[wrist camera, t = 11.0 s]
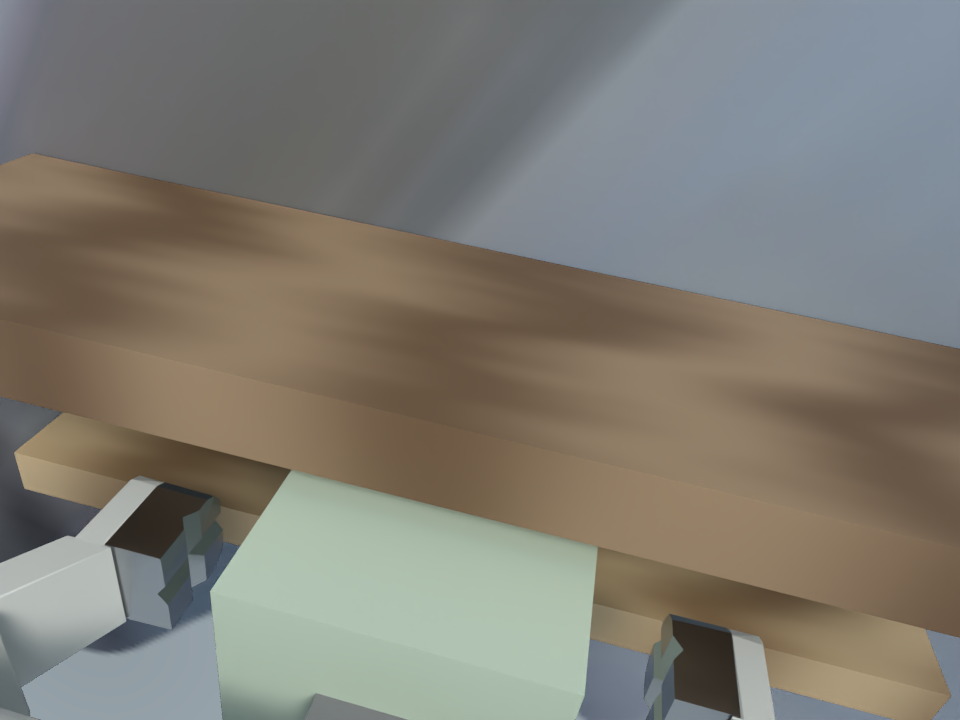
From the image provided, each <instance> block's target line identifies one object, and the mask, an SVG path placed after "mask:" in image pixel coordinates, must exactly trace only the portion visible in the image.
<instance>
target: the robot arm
mask: <svg viewBox="0 0 960 720" xmlns="http://www.w3.org/2000/svg"><path fill="white" fill-rule="evenodd" d="M220 513H221V507H220V500H219V498H217V497H214V496H211V495H208V494H204V493H201V492H197V491H194V490H190V489H187V488H184V487H180V486H177V485H173V484H170V483H166V482H162V481H158V480H155V479H151V478H147V477H144V476H138V477H135V478H133V479H131V480H130V481H129V482H128V483H127V484H126V485H125V486H124V487H123V488H122V489H121V490H120V491H119V492H118V493H117V494H116V495H115V496H114V497H113V498H112V499H111V501H110V502H109V503H108V504H107V505H106V506H105V507H104V508H103V509H102V510H101V511H100V512H99V513H98V514H97V515H96V516H95V517H94V518H93V519H92V520H91V521H90V522H89V523H88V524H87V525H86V526H85V527H84V528H83V530H82V531H81V532H80V533H79V534H78V535H77V536H76V537H71V536H65V537H63V538H60V539H58V540H55V541H53V542H50V543H48V544H46V545H43V546H41V547H38V548H36V549H33V550H31V551H29V552H26V553H24V554H21V555H19V556H16V557H14V558H12V559H9V560H7V561H4V562H2V563H0V720H39V719H36V718H33V717H30V710H29V707H28V705H27V702H26V699H25V697H24V694H23V691H22V689H21V687H22V686H24V685H25V684H27V683H29V682H30V681H32V680H33V679H35V678H37V677H38V676H40V675H42V674H43V673H44V672H46V671H48V670H50V669H51V668H53V667H54V666H56V665H58V664H59V663H61V662H62V661H64V660H65V659H67V658H69V657H70V656H72V655H73V654H75V653H77V652H78V651H80V650H81V649H83V648H85V647H86V646H88V645H89V644H91V643H93V642H94V641H96V640H97V639H99V638H101V637H102V636H104V635H105V634H107V633H109V632H110V631H112V630H113V629H115V628H117V627H118V626H120V625H121V624H123V623H125V622H126V619H130V620H134V621H138V622H142V623H146V624H150V625H154V626H158V627H162V628H166V629H170V630H172V629H173V628H174V626H175V625H176V623H177V622H178V620H179V619H180V618H181V616H182V615H183V613H184V612H185V610H186V609H187V608H188V606H189V605H190V603H191V602H192V600H193V595H192V587H194V586H196V585H198V584H200V583H202V582H204V581H205V580H207V579H208V577H209V576H210V574H211V573H212V571H213V570H214V568H215V566H216V564H217V561H218V559H219V556H220V554H221V551H222V545H223V529H222V528H221V527H220V525H219V524H218V523H217V522H216V518H217V517H218V515H219V514H220ZM644 700H645V702H646V704H647V705H648V707H649V709H650V711H649V714H648V716H647V718H646V720H775V715H774V709H773V702H772V696H771V690H770V684H769V678H768V672H767V665H766V659H765V653H764V647H763V642H762V641H761V639H760V637H759V636H755V635H751V634H747V633H743V632H739V631H735V630H732V629H727V628H725V627H721V626H717V625H713V624H709V623H705V622H701V621H697V620H693V619H689V618H685V617H681V616H677V615H673V614H668V615H667V616H666V617H665V620H664V622H663V624H662V626H661V641H659V642H656V643H654V645H653V647H652V650H651V653H650V655H649V659H648V663H647V668H646V672H645V683H644Z"/></svg>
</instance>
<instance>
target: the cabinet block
mask: <svg viewBox="0 0 960 720" xmlns="http://www.w3.org/2000/svg"><path fill="white" fill-rule="evenodd" d="M597 549H598V547H597V546H593V545H590V544H586V543H582V542H578V541H574V540H570V539H566V538H562V537H558V536H554V535H550V534H546V533H542V532H538V531H534V530H530V529H526V528H522V527H518V526H514V525H510V524H506V523H502V522H498V521H494V520H490V519H486V518H482V517H478V516H474V515H470V514H466V513H462V512H458V511H454V510H450V509H446V508H442V507H438V506H434V505H430V504H426V503H422V502H418V501H415V500H411V499H407V498H403V497H399V496H395V495H391V494H387V493H383V492H379V491H375V490H371V489H367V488H363V487H359V486H355V485H351V484H347V483H343V482H339V481H335V480H331V479H327V478H323V477H319V476H315V475H311V474H307V473H303V472H299V471H295V470H291V472H290V473H289V474H288V476H287V477H286V479H285V480H284V482H283V483H282V485H281V486H280V488H279V489H278V491H277V492H276V494H275V495H274V497H273V498H272V500H271V501H270V503H269V504H268V506H267V507H266V509H265V510H264V512H263V513H262V515H261V516H260V518H259V519H258V521H257V522H256V524H255V525H254V527H253V528H252V530H251V531H250V533H249V534H248V536H247V537H246V539H245V540H244V542H243V543H242V545H241V546H240V547H239V549H238V550H237V552H236V553H235V555H234V556H233V558H232V559H231V561H230V562H229V564H228V565H227V567H226V568H225V570H224V571H223V573H222V574H221V576H220V577H219V579H218V580H217V582H216V583H215V585H214V586H213V588H212V589H211V591H210V596H211V606H212V616H213V626H214V636H215V646H216V657H217V667H218V677H219V686H220V697H221V708H222V717H223V720H576V717H577V714H578V712H579V709H580V707H581V704H582V701H583V699H584V696H585V686H586V675H587V663H588V652H589V640H590V629H591V618H592V606H593V595H594V583H595V572H596V561H597Z"/></svg>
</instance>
